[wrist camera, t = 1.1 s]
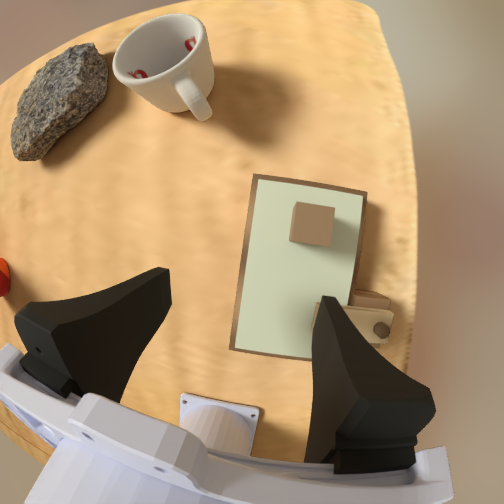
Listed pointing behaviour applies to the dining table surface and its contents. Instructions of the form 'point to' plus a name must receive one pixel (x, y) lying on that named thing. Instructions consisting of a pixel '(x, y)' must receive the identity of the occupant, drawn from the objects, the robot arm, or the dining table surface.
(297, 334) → the lid
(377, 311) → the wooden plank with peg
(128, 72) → the cup
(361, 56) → the dining table surface
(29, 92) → the rock
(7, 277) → the paper cup
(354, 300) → the wooden tray
